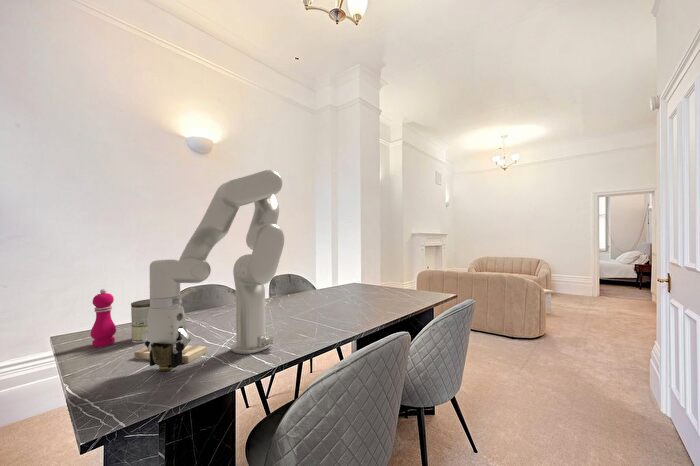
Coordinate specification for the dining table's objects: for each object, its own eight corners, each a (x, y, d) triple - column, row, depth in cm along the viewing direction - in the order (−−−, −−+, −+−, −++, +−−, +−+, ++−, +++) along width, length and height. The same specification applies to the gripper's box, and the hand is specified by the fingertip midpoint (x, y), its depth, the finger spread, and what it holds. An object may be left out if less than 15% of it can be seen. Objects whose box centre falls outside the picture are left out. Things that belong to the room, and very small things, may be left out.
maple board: (206, 352, 98) (206, 346, 98) (188, 362, 90) (188, 355, 90) (156, 349, 103) (156, 342, 103) (134, 358, 95) (134, 351, 95)
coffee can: (129, 338, 114) (128, 301, 115) (160, 332, 122) (159, 297, 122) (134, 345, 107) (133, 305, 107) (167, 338, 114) (166, 300, 115)
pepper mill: (85, 346, 107) (85, 290, 107) (108, 339, 114) (108, 286, 114) (98, 348, 104) (97, 291, 105) (120, 341, 111) (120, 287, 111)
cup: (148, 377, 81) (148, 347, 81) (153, 366, 88) (153, 339, 88) (179, 372, 84) (179, 343, 84) (182, 362, 91) (182, 335, 91)
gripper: (200, 300, 88) (201, 362, 88) (151, 299, 92) (152, 357, 92) (180, 306, 81) (181, 373, 81) (128, 304, 85) (129, 368, 84)
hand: (166, 364), depth 86 cm, fingers closed on cup, 6 cm apart
